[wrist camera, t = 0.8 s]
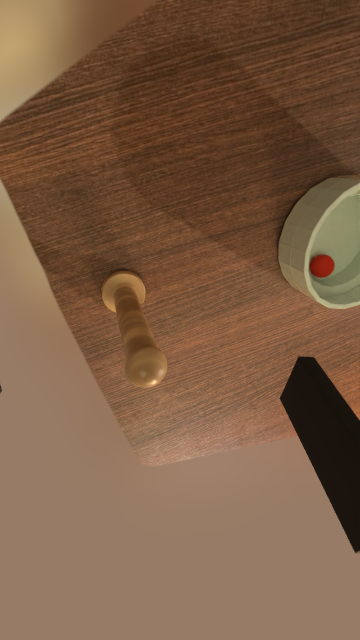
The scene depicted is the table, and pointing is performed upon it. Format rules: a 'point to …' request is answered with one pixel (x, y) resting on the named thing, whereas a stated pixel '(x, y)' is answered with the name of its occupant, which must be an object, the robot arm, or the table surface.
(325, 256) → the tomato
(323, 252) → the bowl
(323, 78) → the table surface
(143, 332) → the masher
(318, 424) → the robot arm
